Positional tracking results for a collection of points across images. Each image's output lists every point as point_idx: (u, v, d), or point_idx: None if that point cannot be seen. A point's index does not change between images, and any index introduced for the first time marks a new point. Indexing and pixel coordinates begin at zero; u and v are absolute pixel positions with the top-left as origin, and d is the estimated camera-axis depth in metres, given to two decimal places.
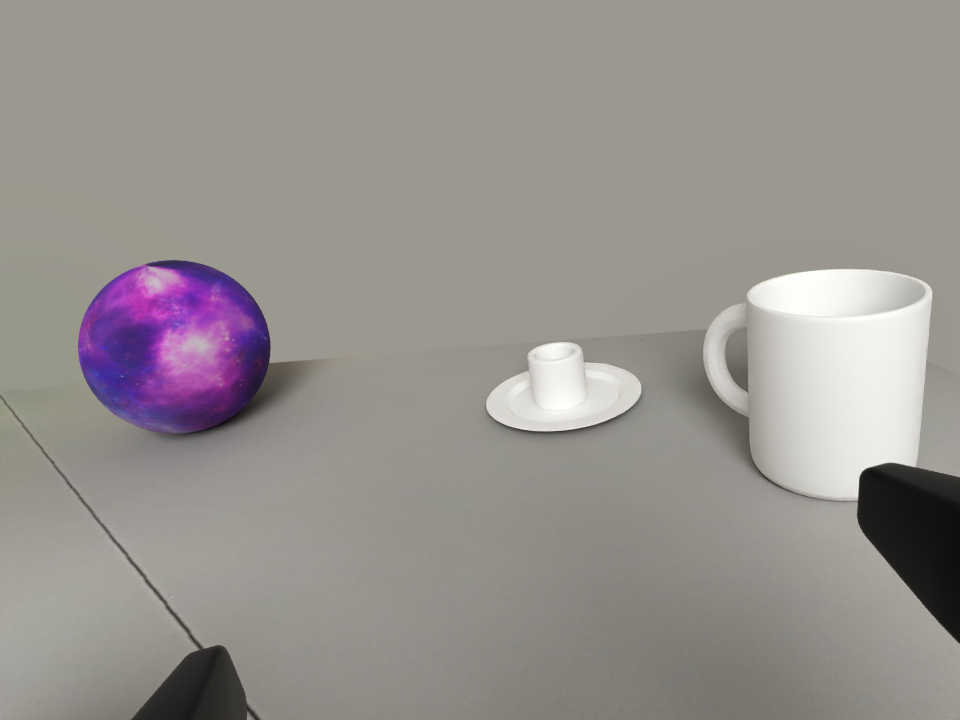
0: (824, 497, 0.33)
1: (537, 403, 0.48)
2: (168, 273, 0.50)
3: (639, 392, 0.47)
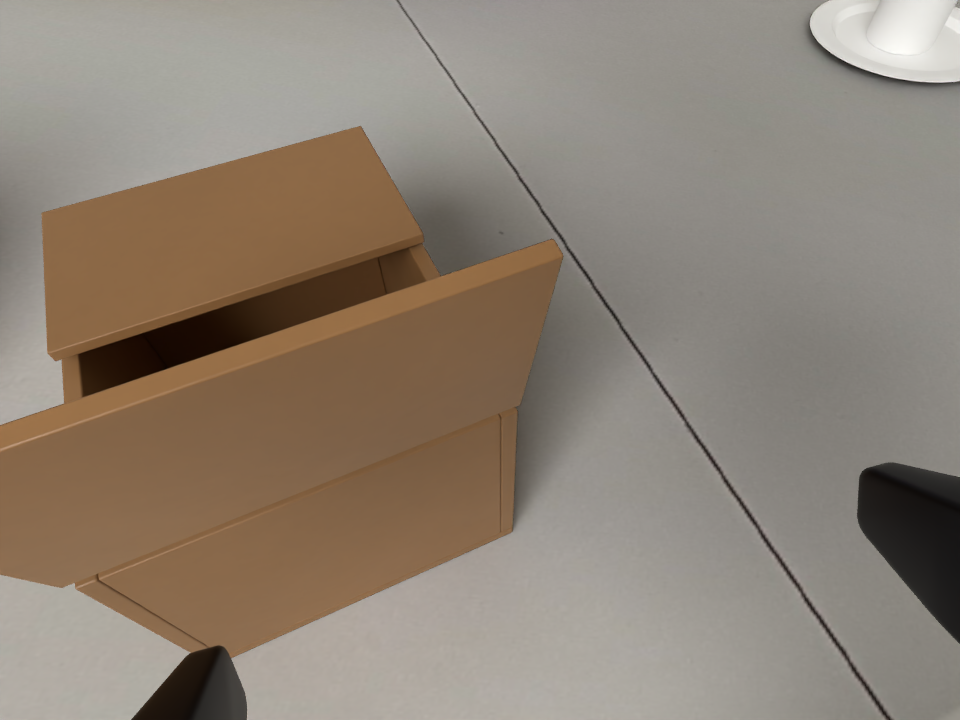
0: None
1: (870, 36, 0.42)
2: None
3: None
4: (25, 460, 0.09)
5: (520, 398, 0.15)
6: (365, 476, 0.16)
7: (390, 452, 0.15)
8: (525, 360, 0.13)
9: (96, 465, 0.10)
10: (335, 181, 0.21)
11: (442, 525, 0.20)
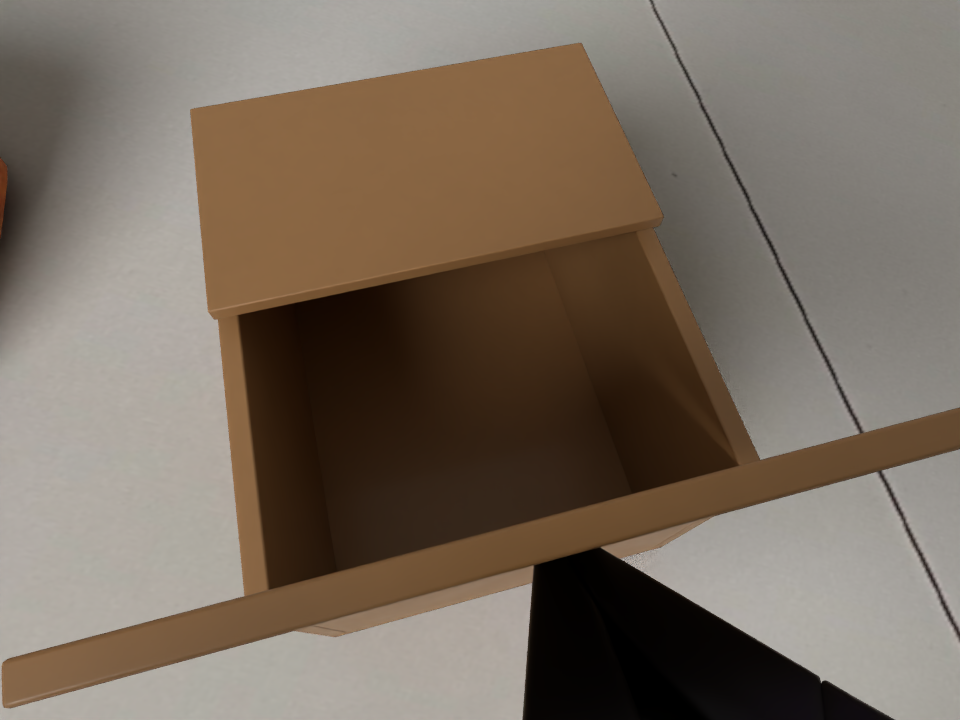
0: None
1: None
2: None
3: None
4: (313, 624, 0.06)
5: None
6: None
7: None
8: None
9: None
10: (551, 121, 0.17)
11: (609, 551, 0.18)
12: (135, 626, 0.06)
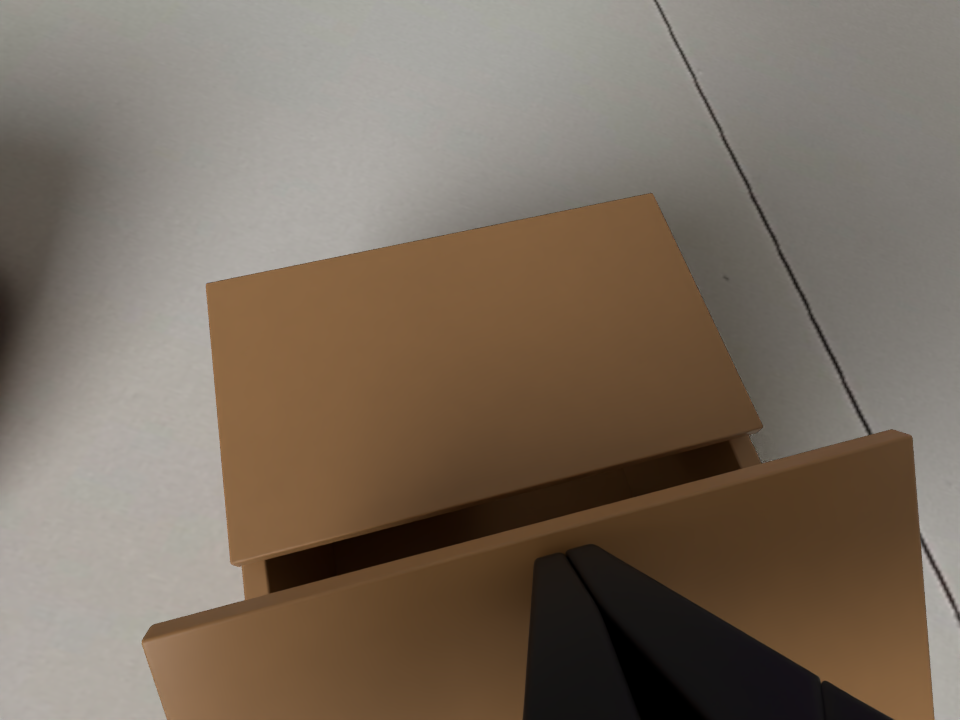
0: None
1: None
2: None
3: None
4: (352, 617, 0.08)
5: None
6: None
7: None
8: (918, 661, 0.10)
9: (405, 669, 0.08)
10: (624, 298, 0.14)
11: None
12: (238, 603, 0.08)
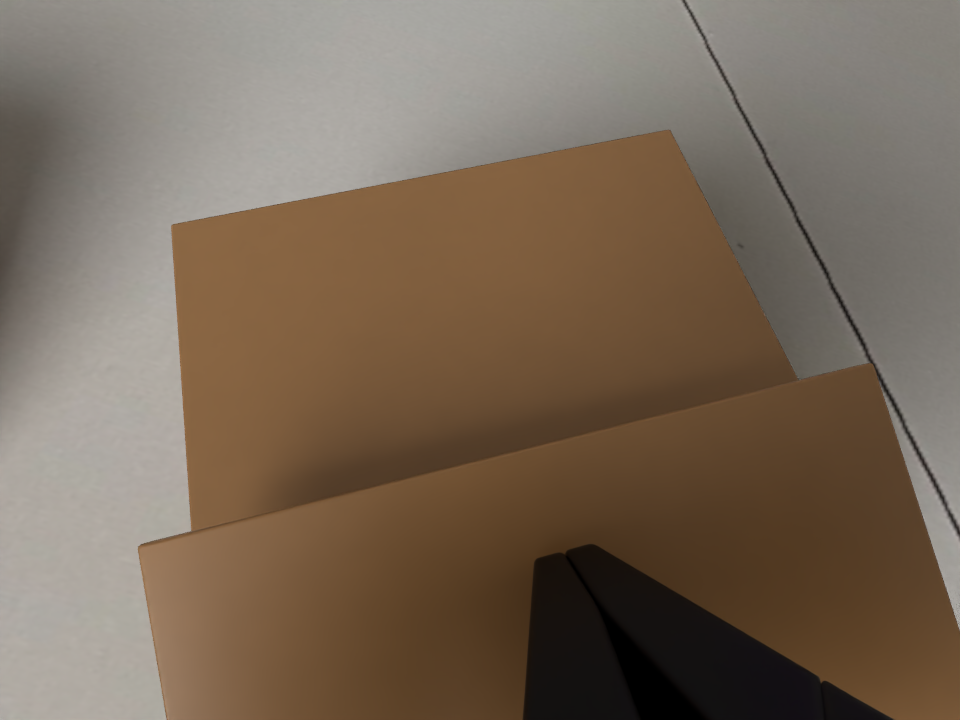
0: None
1: None
2: None
3: None
4: (336, 530, 0.09)
5: None
6: None
7: None
8: (941, 610, 0.09)
9: (387, 588, 0.09)
10: (640, 241, 0.13)
11: None
12: None
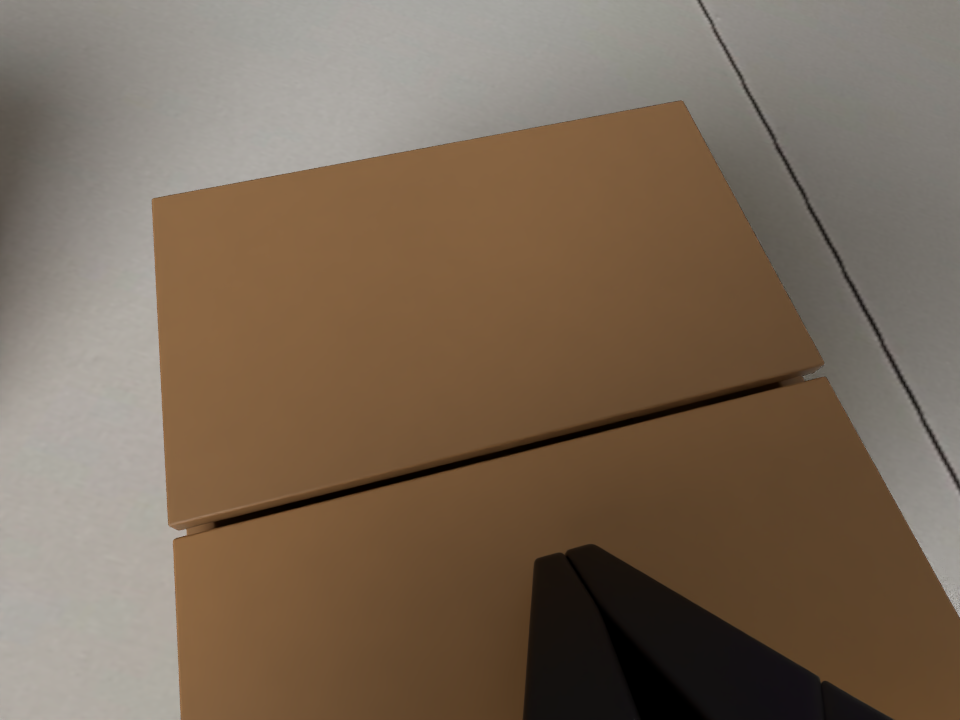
0: None
1: None
2: None
3: None
4: (345, 523, 0.10)
5: None
6: None
7: None
8: (936, 600, 0.09)
9: (389, 577, 0.09)
10: (652, 216, 0.12)
11: None
12: None
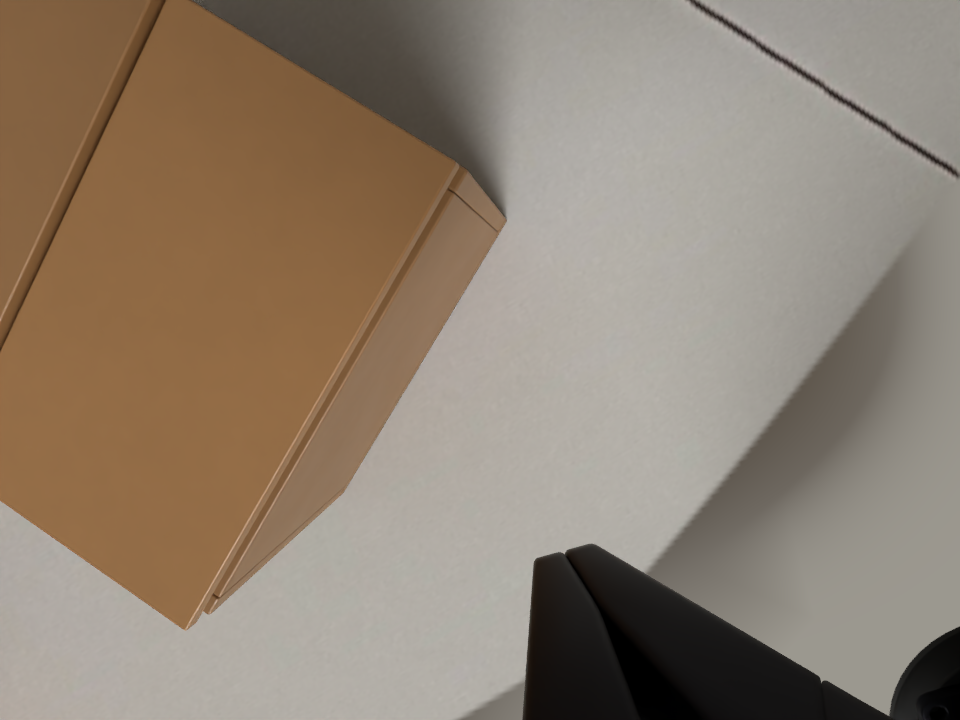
0: None
1: None
2: None
3: None
4: (10, 375, 0.13)
5: (431, 151, 0.11)
6: (363, 355, 0.13)
7: (348, 317, 0.12)
8: (328, 97, 0.11)
9: (55, 378, 0.13)
10: None
11: (448, 286, 0.17)
12: None
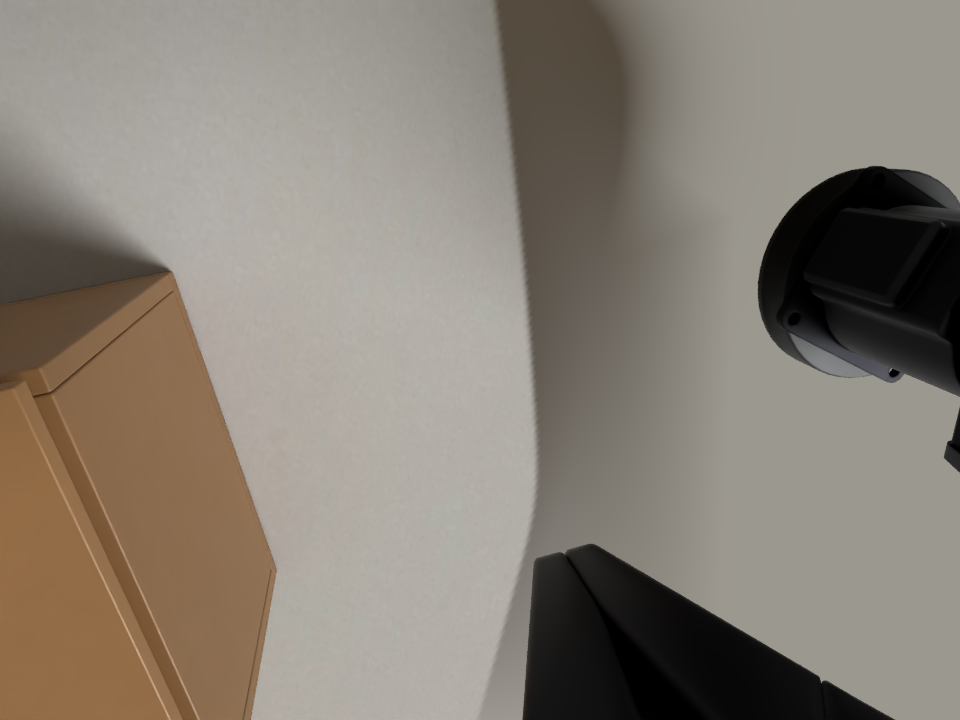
0: None
1: None
2: None
3: None
4: None
5: None
6: (134, 561, 0.12)
7: (78, 567, 0.11)
8: None
9: None
10: None
11: (171, 390, 0.16)
12: None
